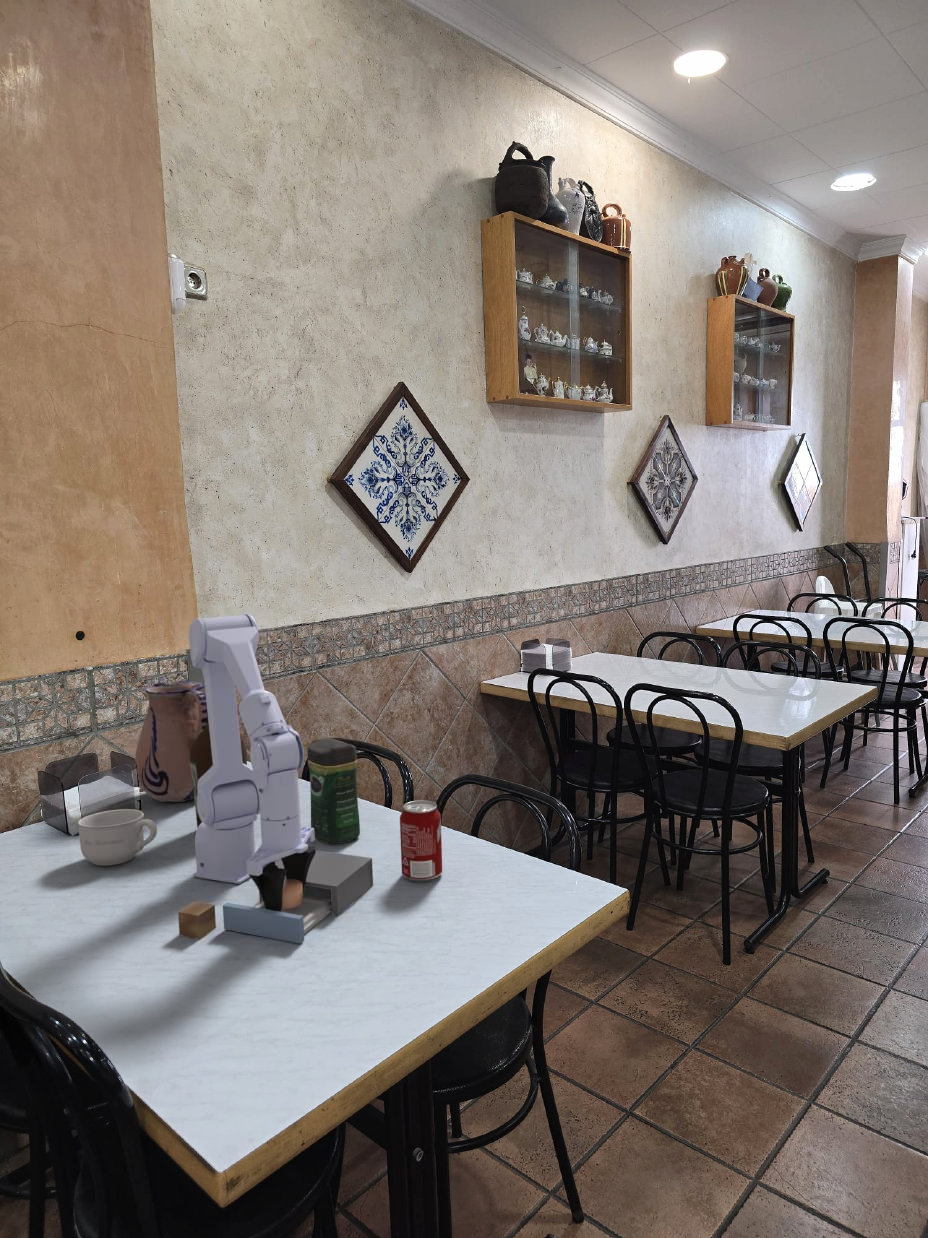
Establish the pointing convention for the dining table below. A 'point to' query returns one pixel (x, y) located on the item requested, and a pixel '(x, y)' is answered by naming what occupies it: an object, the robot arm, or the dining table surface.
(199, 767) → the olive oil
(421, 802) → the soda can
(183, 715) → the ceramic pitcher
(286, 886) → the cylinder
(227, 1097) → the dining table surface
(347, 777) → the coffee jar
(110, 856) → the teacup
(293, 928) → the tray
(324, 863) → the box
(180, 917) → the brown cube block
